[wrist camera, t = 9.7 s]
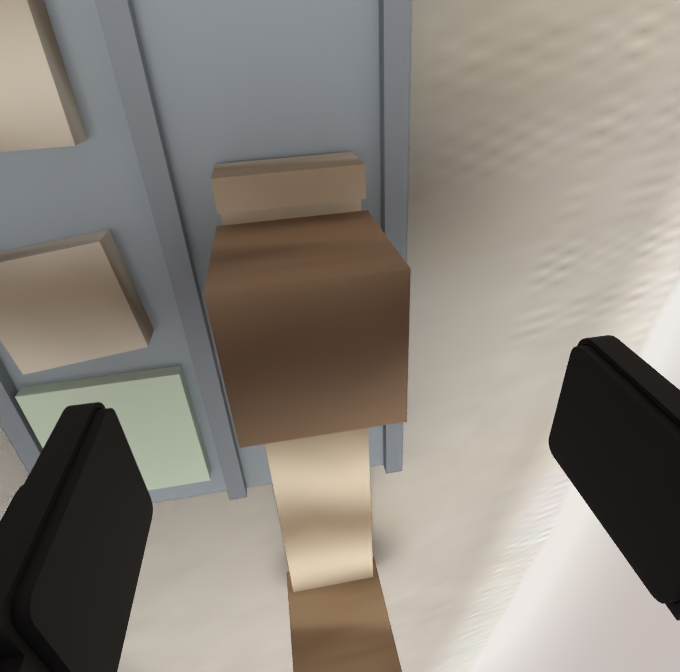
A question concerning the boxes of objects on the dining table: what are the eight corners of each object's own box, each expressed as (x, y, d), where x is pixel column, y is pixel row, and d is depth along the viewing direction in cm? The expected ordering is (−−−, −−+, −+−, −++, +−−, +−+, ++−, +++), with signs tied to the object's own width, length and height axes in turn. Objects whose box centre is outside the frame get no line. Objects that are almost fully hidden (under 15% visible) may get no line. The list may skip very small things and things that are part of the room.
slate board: (394, 450, 24) (402, 471, 23) (71, 503, 23) (60, 528, 21) (401, -379, 11) (420, -433, 9) (-425, -408, 9) (-528, -478, 8)
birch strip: (374, 585, 28) (407, 726, 23) (292, 601, 28) (303, 749, 22) (361, 150, 15) (431, 214, 9) (205, 165, 15) (176, 241, 9)
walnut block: (370, 336, 18) (406, 421, 14) (241, 354, 17) (239, 447, 13) (367, 210, 15) (410, 269, 11) (216, 226, 15) (203, 294, 11)
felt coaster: (211, 470, 22) (210, 480, 21) (76, 492, 21) (72, 503, 21) (181, 365, 19) (179, 374, 18) (21, 387, 18) (15, 397, 18)
